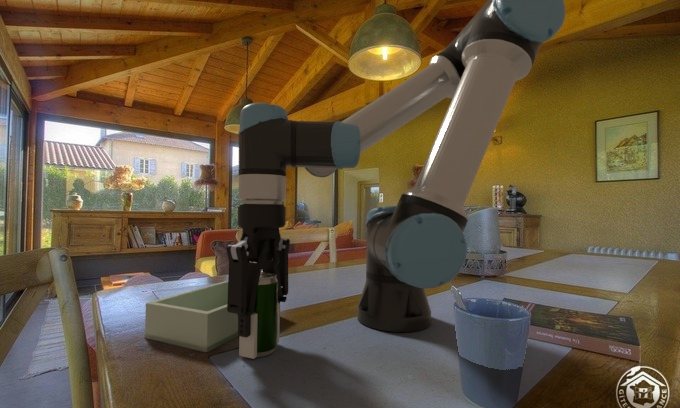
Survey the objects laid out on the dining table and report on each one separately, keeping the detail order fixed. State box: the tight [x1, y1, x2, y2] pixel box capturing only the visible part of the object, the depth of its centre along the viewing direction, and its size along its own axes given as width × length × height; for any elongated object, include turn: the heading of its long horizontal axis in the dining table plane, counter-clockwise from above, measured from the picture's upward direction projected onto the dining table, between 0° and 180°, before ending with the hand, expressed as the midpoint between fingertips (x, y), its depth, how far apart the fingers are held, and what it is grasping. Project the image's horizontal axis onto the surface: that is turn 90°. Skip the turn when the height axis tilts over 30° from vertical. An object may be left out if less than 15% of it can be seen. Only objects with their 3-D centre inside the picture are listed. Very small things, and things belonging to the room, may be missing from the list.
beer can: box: [246, 271, 278, 358], centre depth 52 cm, size 5×5×12 cm
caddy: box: [144, 280, 239, 353], centre depth 63 cm, size 14×20×6 cm
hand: (260, 348), depth 52 cm, fingers closed on beer can, 5 cm apart
